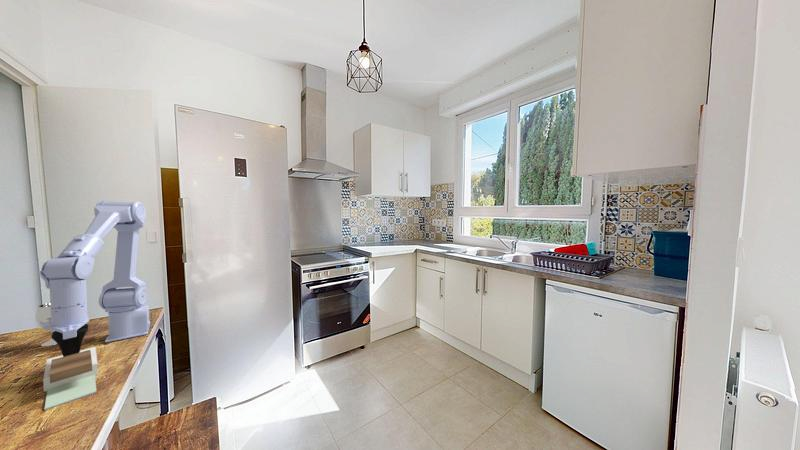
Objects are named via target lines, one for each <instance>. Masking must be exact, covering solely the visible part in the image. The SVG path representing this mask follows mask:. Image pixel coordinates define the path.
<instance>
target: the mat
mask: <svg viewBox="0 0 800 450" xmlns="http://www.w3.org/2000/svg"><path fill="white" fill-rule="evenodd" d="M96 383H97V382H96V376H95V375H93V376H89V377H86V378H83V379H80V380H76V381H73V382H70V383H67V384H63V385H60V386H57V387H54V388H51V389H48V390H47V391H46V397H45V401H44V402H45V403H44V408H43V409H44V411H47V410H49V409H52V407H53V408H55V407H58V406H61V405H64V404H66V403H70V402H73V401H75V400H78V399H81V398H85V397H87V396H90V395H93V394H96V393H97V384H96Z"/></svg>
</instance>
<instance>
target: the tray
mask: <svg viewBox="0 0 800 450" xmlns="http://www.w3.org/2000/svg"><path fill="white" fill-rule="evenodd" d="M88 350H90V351H91V359H92V371H89V372H86V373H83V374H80V375H76V376H73V377H70V378H66V379H63V380H60V381H57V382H53V383H50V368H51V361H52V360H53V359H57V358H61V357H63V354H61V355H59V356H54V357H50V358H47V359H46V363H45V368H44V374H43V379H42V381H43V392H47V390H48V389H51V388H54V387H57V386H60V385H63V384H67V383H70V382H73V381H76V380H80V379H83V378H86V377H89V376H93V375H95V377H96V376H99V369H98V364H99V363H98V356H97V349H96V346H93V347H90V348H86V349H83V350H81V349H80V352H84V351H88ZM80 352H79V353H80Z"/></svg>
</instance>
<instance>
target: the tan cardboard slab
mask: <svg viewBox="0 0 800 450" xmlns="http://www.w3.org/2000/svg"><path fill="white" fill-rule="evenodd" d="M89 371H92V359H91V351H90V350H88V351H84V352H80V353H76V354H72V355H68V356H65V357H61V358H57V359H53V360H52V361H51V368H50V383H53V382H57V381H60V380H63V379H66V378H70V377H73V376H76V375H80V374H83V373H86V372H89Z"/></svg>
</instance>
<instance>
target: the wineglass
mask: <svg viewBox="0 0 800 450" xmlns="http://www.w3.org/2000/svg"><path fill="white" fill-rule="evenodd" d="M35 321H36V323H37V324H38V325H40V326H45V325H49V324H51V310H50V302H48V303H47V302H46V303H43V304H41V305H39V306H38V308H37V310H36V313H35ZM49 330H50V332H51V334H52V333H53V332H54V330H51V329H49ZM55 345H58V344H57V342H55V341H54V340H53V339H52V338H51V339H50V340H49V341H46V342H43V343H41V344H40V346H41V347H51V346H55Z"/></svg>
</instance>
